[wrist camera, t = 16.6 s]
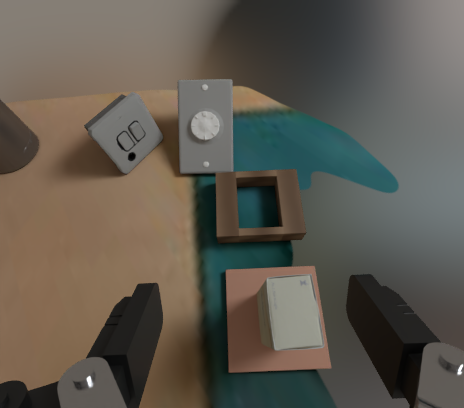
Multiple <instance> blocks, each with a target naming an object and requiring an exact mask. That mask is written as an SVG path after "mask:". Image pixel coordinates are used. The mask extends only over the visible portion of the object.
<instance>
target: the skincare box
mask: <svg viewBox="0 0 464 408" xmlns="http://www.w3.org/2000/svg"><path fill="white" fill-rule="evenodd" d="M257 304H258V316H259V327H260V336H261V344H263V345H265V346H267V347H269V348H271V349H273V350H275V351H282V350H305V349H318V348H323V347H324V338H323V332H322V326H321V320H320V314H319V308H318V304H317V298H316V294H315V288H314V284H313V279H312V275H311V274H301V275H286V276H275V277H268V278H267V279H266V280H265V282H264V283H263V285H262V286H261V288H260V289H259V291H258V292H257Z"/></svg>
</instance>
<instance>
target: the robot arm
mask: <svg viewBox="0 0 464 408" xmlns="http://www.w3.org/2000/svg"><path fill="white" fill-rule="evenodd" d="M38 146H39V140H38V138H37V136H36V135H35V134H34V133H33V132H32V131H31V130H30V129H29V128H28V127H27V126H26V125H25V124H24V123H23V122H22V121H21V120H20V118H19V117H18V116H17V115H16V114H14V113H13V112H12V111H11V110H10V109H9V108H8V107H7V106H6V105H5V104H4V103H3V102H2V101H1V100H0V173H8V172H12V171H15V170H18V169H20V168H21V167H23V166H25V165H26V164H27V163H29V162H30V161H31V160H32V159H33V157H34V156H35V154H36V152H37V150H38ZM346 311H347V315H348V319H349V321H350V323H351V325H352V327H353V328H354V330H355V332H356V334H357V336H358V338H359V339H360V341H361V343H362V345H363V347H364V348H365V350H366V352H367V354H368V356H369V357H370V359H371V361H372V363H373V365H374V366H375V368H376V370H377V372H378V374H379V375H380V377H381V379H382V381H383V383H384V384H385V386H386V388H387V390H388V392H389V394H390V395H391V397H392V398H406V399H407V401H408V403H409V405H410V406H409V408H464V352H463V351H462V350H460V349H458V348H456V347H454V346H451V345H448V344H444V343H441V342H440V340H439V339H438V338H437V337H436V336H435V335H434V334H433V333H432V332H431V331H430V329H429V328H428V327H427V326H426V325H425V324H424V322H423V321H421V319H420V318H419V317H418V316H417V315H416V314H414V311H413V310H412V309H411V308H410V307H409V306H407V303H406V302H405V301H404V300H403V299H402V298H401V297H400V296H399V294H397V293H396V292H394V291H393V290H391V289H389V288H388V287H387V286H381V285H380V284H379V283H378V282H377V280H376V279H375V278H374V277H373V276H372V275H371V274H363V275H351V276H350V279H349V286H348V296H347V304H346ZM162 324H163V311H162V305H161V299H160V292H159V286H158V284H157V283H143V284H138V285H137V287H136V289H135V291H134V293H133V295H132V297H124V298H123V299H122V300H121V301H120V302H119V303H117V304H116V305H115V307H114V308H113V310H112V312H111V314H110V316H109V318H108V319H107V321H106V323H105V326H104V327H103V328H102V330H101V332H100V334H99V336H98V337H97V339H96V341H95V343H94V345H93V346H92V348H91V350H90V352H89V354H88V355H87V357H86V359H84V360H81V361H79V362H77V363H76V364H74V365H73V366H71V367H70V368H69V369H68V370H67V371H66V372H65V373H64V374H63V376H62V377H61V379H60V380H59V381H58V382H55V383H52V384H49V385H46V386H43V387H39V388H36V389H33V390H30V391H28V390H27V387H26V385H25V384H24V383H23V382H21V381H8V382H4V383H2V384H0V408H139V405H140V401H141V398H142V394H143V391H144V388H145V384H146V381H147V377H148V374H149V370H150V367H151V364H152V360H153V357H154V353H155V350H156V347H157V343H158V340H159V336H160V333H161V329H162Z"/></svg>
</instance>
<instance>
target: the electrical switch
mask: <svg viewBox="0 0 464 408" xmlns="http://www.w3.org/2000/svg"><path fill="white" fill-rule="evenodd" d="M115 101H116V102H115ZM84 126H85V128H86V127H87V128H86V129H87V131H88V134H89V135H90V137H91V138H92V139H93V140H94V141H96V142H97V143H98V144H99V146H100V147H101V148H102V149H103V150H104V151H105V153H106V154H107V155H108V156H109V157H110V158H111V160H112V161H113V162H114V163H115V164H116V165H117V168H118V169H119V170H120V171H121V172H122V173H125V174H127V173H129V172H130V171H131V170H132V169H133V168H134V167H135V166H136V165H137V164H138V163H139V162H140V161H142V160H143V159H144V158H145V157H146V156H147V155H148V154H149V153H150V152H151V151H152V150H153V149H154V148H155V147H156V146H157V145H158V144H159V143H160V142H161V141H162V140H163V135H162V133H161V131H160V130H159V128H158V126H157V125H156V123H155V121H154V120H153V118H152V116H151V114H150V113H149V111H148V109H147V108H146V106H145V104H144V103H143V101H142V99H141V97H140V96H139V95H138V94H137V93H134V92H131V93H130V94H129V95H128V96H124V95H122V94H121V95H120V96H119V97H118V98H117V99H115V100H114V101H113V102H112V103H111V104H109V105H108V106H107V107H106V108H105V109H103V110H102V111H101V112H100V113H99V114H97V115H96V116H95V117H94V118H93V119H91V120H90V121H89V122H88V123H87V124H85V125H84Z"/></svg>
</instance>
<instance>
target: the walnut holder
mask: <svg viewBox="0 0 464 408" xmlns="http://www.w3.org/2000/svg"><path fill="white" fill-rule="evenodd" d="M255 186H275V195H276V203H277V212H278V221H279V227H266V228H243V229H239V222H238V203H237V187H255ZM216 217H217V240H218V243H237V242H260V241H283V240H302V239H303V237H304V235H305V234H306V228H305V222H304V216H303V209H302V203H301V197H300V190H299V184H298V178H297V171H296V169H289V170H266V171H244V172H221V173H216Z"/></svg>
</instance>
